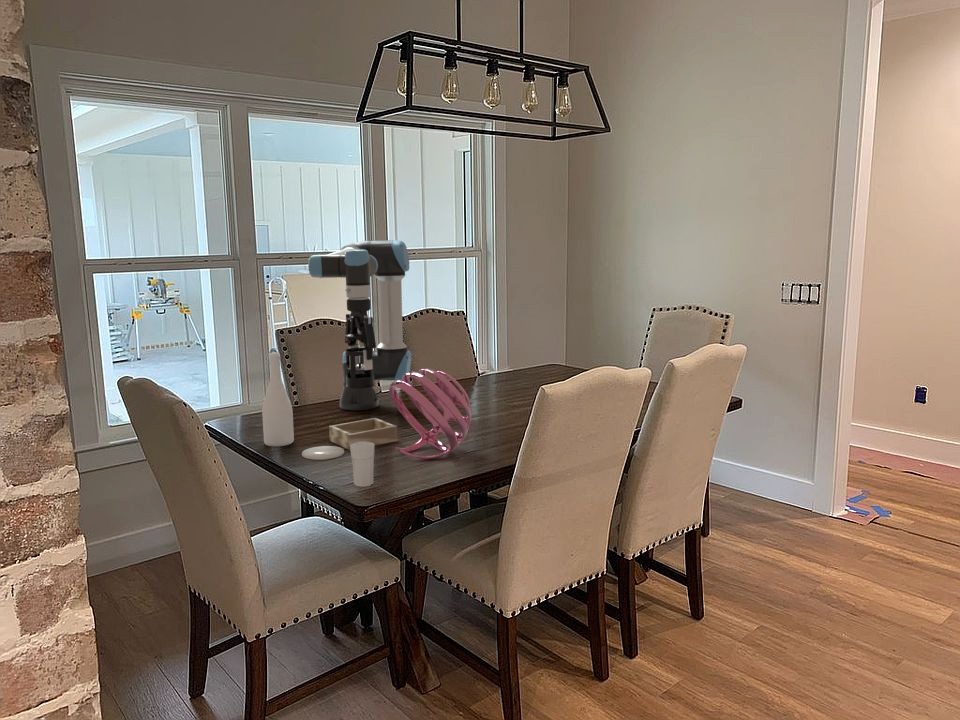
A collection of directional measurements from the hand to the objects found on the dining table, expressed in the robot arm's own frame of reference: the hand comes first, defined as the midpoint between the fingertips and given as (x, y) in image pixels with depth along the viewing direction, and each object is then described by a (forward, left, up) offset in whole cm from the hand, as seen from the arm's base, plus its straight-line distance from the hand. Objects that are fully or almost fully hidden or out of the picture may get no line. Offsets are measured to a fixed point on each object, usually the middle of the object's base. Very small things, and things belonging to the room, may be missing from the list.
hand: (361, 367), depth 248 cm
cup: (+38, -21, -25) cm, 50 cm away
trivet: (+5, -17, -25) cm, 30 cm away
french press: (0, 0, -6) cm, 6 cm away
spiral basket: (+26, +10, -25) cm, 37 cm away
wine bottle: (-15, -23, -25) cm, 37 cm away
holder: (0, 0, -25) cm, 25 cm away
